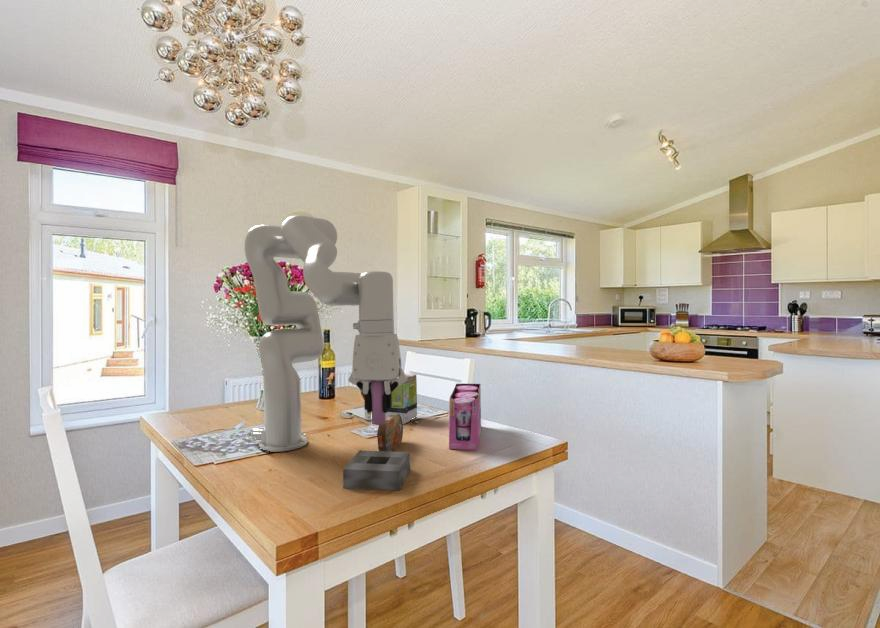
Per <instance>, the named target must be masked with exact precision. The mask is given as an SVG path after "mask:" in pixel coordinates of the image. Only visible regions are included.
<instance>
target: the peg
mask: <svg viewBox="0 0 880 628" xmlns="http://www.w3.org/2000/svg"><path fill="white" fill-rule="evenodd" d="M384 392H385V387H384V381H371V409H372V420H371V424H372V425H374V426H375V425H377V426H379V425H381V424H385V423H386V422H385V413H384V412H383V395H384Z"/></svg>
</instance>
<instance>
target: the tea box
mask: <svg viewBox="0 0 880 628" xmlns="http://www.w3.org/2000/svg"><path fill="white" fill-rule="evenodd" d="M405 375H406V377H407V381H406V382H405V383H403V384H401V385H399V386H397V387H396V388H395V389H394V390H393V392H392V393H391V394H392V407H391V408H390V409H389V411H388V412H387V413H385V419H386V418H387V417H388V416H389V415H397V414H399V415H400V416H401V418H402V423H403V425H405V424H406V423H409V422H411V421H410V419H412V418H414V417H416V416H417V417H418V392H417V391H418V389H417V386H418V385H417V374H414V373H405ZM398 379H399V377H397V378H396V379H395V380H392V382H395V381H396V380H398ZM363 402H364V404H363V405H364V420H365V421H372V420H371V413H372V411H371V412H370V413H367V408H365V401H364V400H363Z"/></svg>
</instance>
